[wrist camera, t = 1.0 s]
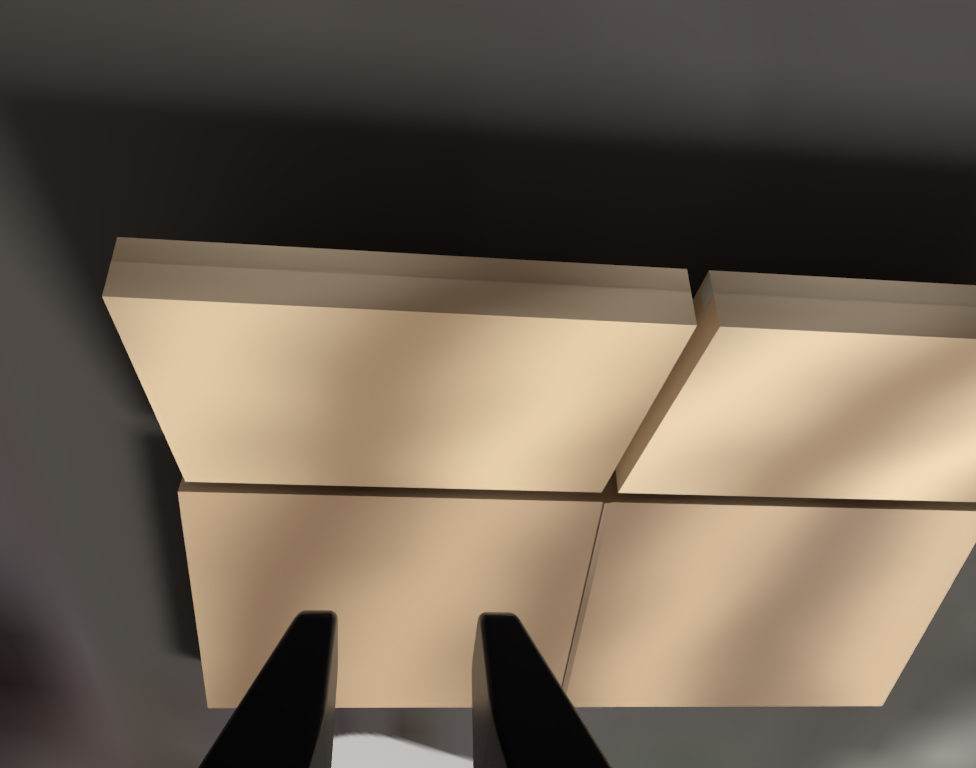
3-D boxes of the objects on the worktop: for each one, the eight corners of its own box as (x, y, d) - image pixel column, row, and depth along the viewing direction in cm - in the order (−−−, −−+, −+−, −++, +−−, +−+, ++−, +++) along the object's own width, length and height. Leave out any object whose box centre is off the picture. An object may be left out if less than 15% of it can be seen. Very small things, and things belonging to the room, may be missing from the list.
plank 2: (1199, 297, 16) (1229, 351, 16) (975, 459, 22) (991, 502, 21) (708, 270, 15) (720, 326, 14) (613, 447, 21) (617, 492, 20)
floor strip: (968, 480, 23) (994, 512, 22) (864, 672, 27) (882, 707, 26) (188, 458, 20) (177, 492, 19) (216, 672, 25) (208, 709, 24)
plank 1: (686, 268, 15) (697, 325, 14) (597, 447, 21) (601, 492, 20) (117, 237, 14) (102, 296, 13) (193, 434, 20) (185, 481, 19)
